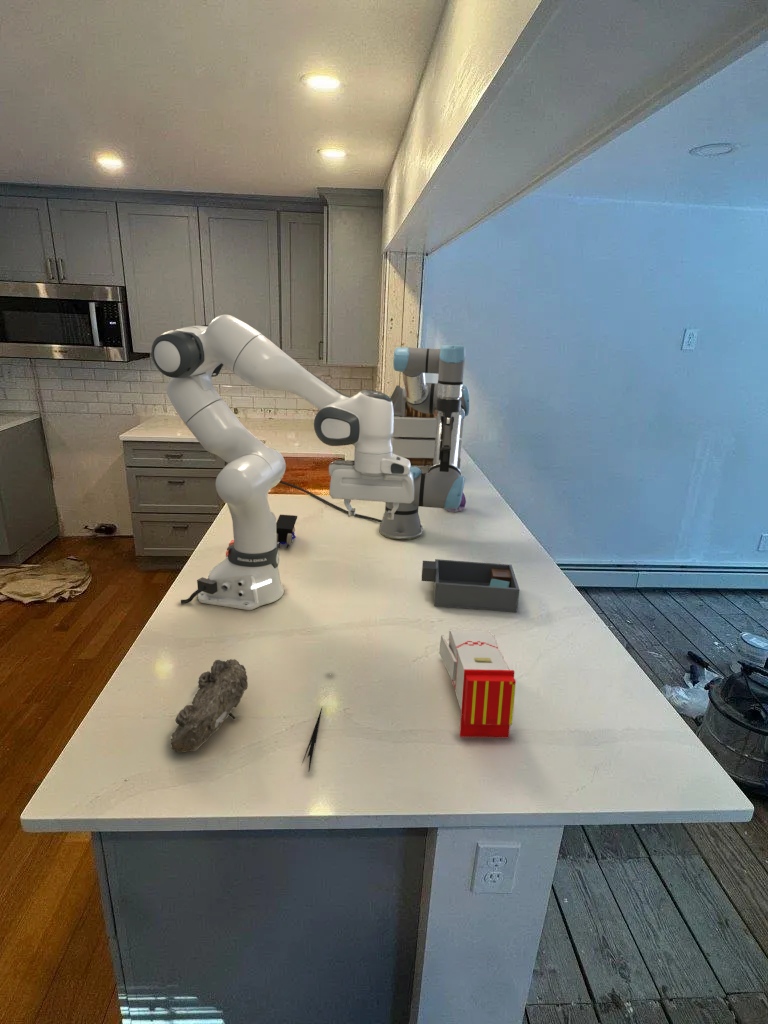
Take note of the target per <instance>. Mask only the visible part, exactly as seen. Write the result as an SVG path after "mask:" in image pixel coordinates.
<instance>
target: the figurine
mask: <svg viewBox="0 0 768 1024" xmlns="http://www.w3.org/2000/svg"><path fill="white" fill-rule="evenodd" d="M466 503H467V500H466V496H465V493H464V492H463V494H462V498H461V503H460V506H459V507H458V508H457V509H446V511H447V512H450V513H457V512H463V511H464V510H465V507H466Z"/></svg>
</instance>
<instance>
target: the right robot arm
mask: <svg viewBox="0 0 768 1024" xmlns="http://www.w3.org/2000/svg"><path fill="white" fill-rule="evenodd" d="M466 357H467V356H466V346H464V345H461V344H442V345H441V346H440V348H425V347H410V346H409V347H408V346H399V347H395V349H394V352H393V370H394V372H400V373H401V375H402V380H403V388H402V389H403V396H404V399H405V401H406V402H407V403H408V404H409V405H410V406H411V407H412V408H414V409H415V410H417V411H419V412H422V413H426V414H434V417H435V419H436V420H437V429H436V440H435V450H434V460H433V466H429V468H428V469H427V470H428V471H427V472H422V469H421V468H420V467H419V466H411V468H410V471H411V473H412V475H413V479H414V500H413V502H412V503H399V507H398V509H397V510H396V511H395V513H394V519H393V520H391V519H387V517H388V510H390V511H392V509H393V502H385V504H384V505H385V507H384V508H385V509H384V513H383V515H382V519H381V518H380V519H379V518H375V517H371V516H368V515H364V514H359V513H355V517H357V518H360V519H365V520H370V521H373V522H378V523H379V527H378V533H379V534H380V535H381V536H382V537H385V538H387V539H389V540H395V541H410V540H415V539H418V538H420V537H421V536H422V535H423V530H424V527H423V525H422V524H421V518H420V515H419V508H420V507H421V508H422V507H423V508H432V509H443V510H447V509H457V508H458V507H459V506H460V503H461V498H462V494H463V493H464V487H465V482H466V477H465V476H464V475H462V472H461V469H460V470H459V469H458V468H457V463H458V449H459V439H460V438H459V435H460V422H462V421H463V420H465V417H468V416H469V414H470V391H469V388H468V386H467V385H464V375H465V374H464V373H465V363H466ZM426 374H435V375H436V374H437V375H438V376H437V377H438V378H437V383H435V382H426ZM463 422H464V421H463ZM278 484H283V485H285V486H288V487H291V488H293V489H296V490H299V491H301V492H304V494H307V495H309V496H311V497H313V498H316V499H317V500H319V501H321V502H323V503H324V504H327V505H328V506H330V507H332V508H334V509H336V510H338V511H340V512H342V513H345V514H346V515H348V510H347V509H344V508H342V507H340V506H337V505H336V504H334V503H332V502H330V501H328V500H327V499H324V498H322V497H321V496H318V495H316V494H315V493H313V492H310V491H308V490H306V489H304V488H302V487H300V486H298V485H295V484H292V483H289V482H286V481H283V480H280V482H279V483H278Z"/></svg>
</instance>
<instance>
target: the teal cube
mask: <svg viewBox="0 0 768 1024" xmlns="http://www.w3.org/2000/svg"><path fill="white" fill-rule="evenodd" d="M509 584H510V582H508V581H503V580H497V579H491V582H490V585H489V586H494V587H507V588H509Z"/></svg>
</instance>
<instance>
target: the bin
mask: <svg viewBox="0 0 768 1024" xmlns="http://www.w3.org/2000/svg"><path fill="white" fill-rule="evenodd" d="M491 569H505V570H509V572H510V575H511V583H510V588H507V587H494V586H489V585H490V576H491ZM421 582H427V583H429V582H430V583H433V607H443V608H452V609H453V608H455V609H468V610H469V609H470V610H480V611H494V612H505V613H517V612H518V606H519V605H518V604H519V597H520V592H521V591H520V586H519V584H518V583H519V582H518V581H517V577H516V574H515V571H514V568H513V565H512V564H510V563H509V564H508V563H494V562H479V561H465V560H453V559H452V560H451V559H438V558H435V559H434V560H422V565H421Z"/></svg>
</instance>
